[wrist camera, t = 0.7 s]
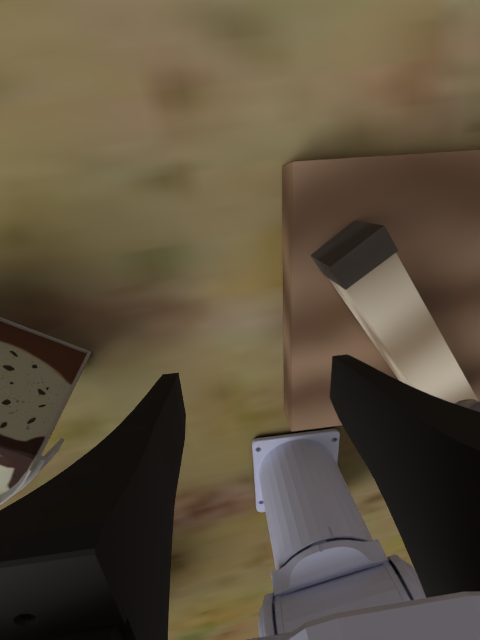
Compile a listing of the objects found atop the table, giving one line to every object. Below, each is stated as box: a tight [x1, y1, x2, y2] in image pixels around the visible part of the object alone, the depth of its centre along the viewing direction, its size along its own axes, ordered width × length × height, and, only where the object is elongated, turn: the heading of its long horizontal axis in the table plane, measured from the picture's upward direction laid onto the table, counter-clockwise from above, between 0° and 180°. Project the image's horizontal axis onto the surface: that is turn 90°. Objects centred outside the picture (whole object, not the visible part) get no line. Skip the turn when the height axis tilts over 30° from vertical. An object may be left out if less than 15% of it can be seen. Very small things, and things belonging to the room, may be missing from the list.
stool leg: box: [310, 221, 480, 412], centre depth 19 cm, size 17×3×3 cm, turn 39°
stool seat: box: [282, 150, 480, 432], centre depth 20 cm, size 19×22×5 cm
